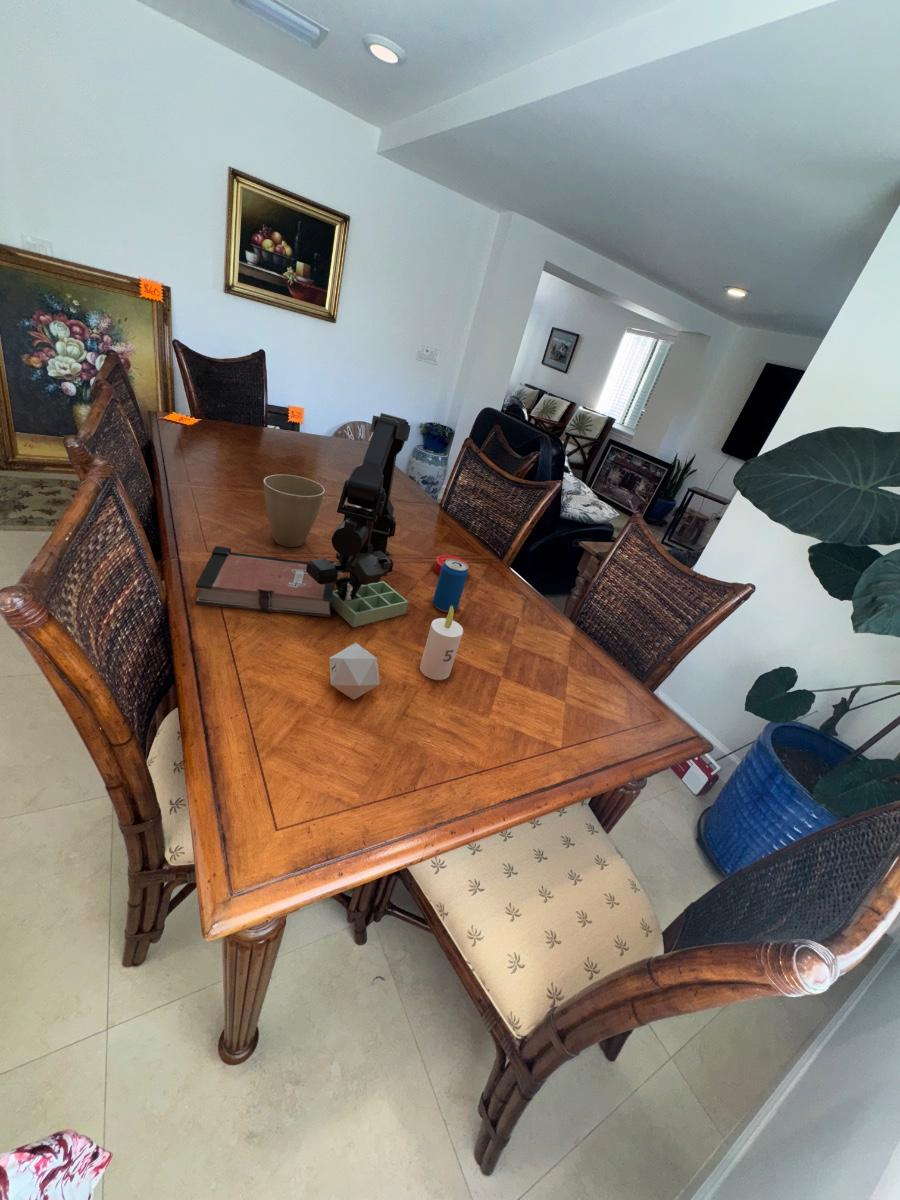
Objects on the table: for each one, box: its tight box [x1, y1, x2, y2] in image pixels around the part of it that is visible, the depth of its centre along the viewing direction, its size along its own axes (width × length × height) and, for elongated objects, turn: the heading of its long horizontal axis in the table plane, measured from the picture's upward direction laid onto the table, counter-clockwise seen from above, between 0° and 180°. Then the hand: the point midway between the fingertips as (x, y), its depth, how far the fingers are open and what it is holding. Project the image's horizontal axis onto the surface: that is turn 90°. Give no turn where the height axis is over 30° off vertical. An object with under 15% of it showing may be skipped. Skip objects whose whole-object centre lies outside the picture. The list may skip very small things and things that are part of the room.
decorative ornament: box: [433, 554, 470, 576], centre depth 138 cm, size 10×10×3 cm
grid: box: [331, 580, 409, 628], centre depth 110 cm, size 10×15×3 cm
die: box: [328, 642, 381, 701], centre depth 85 cm, size 8×9×10 cm
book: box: [195, 545, 335, 618], centre depth 106 cm, size 26×18×5 cm
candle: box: [419, 605, 464, 681], centre depth 94 cm, size 6×6×15 cm
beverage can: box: [432, 559, 469, 613], centre depth 117 cm, size 6×6×12 cm
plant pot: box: [263, 473, 326, 548], centre depth 126 cm, size 15×15×16 cm
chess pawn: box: [344, 583, 353, 602], centre depth 107 cm, size 3×3×5 cm
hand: (346, 599), depth 108 cm, fingers closed on chess pawn, 2 cm apart
